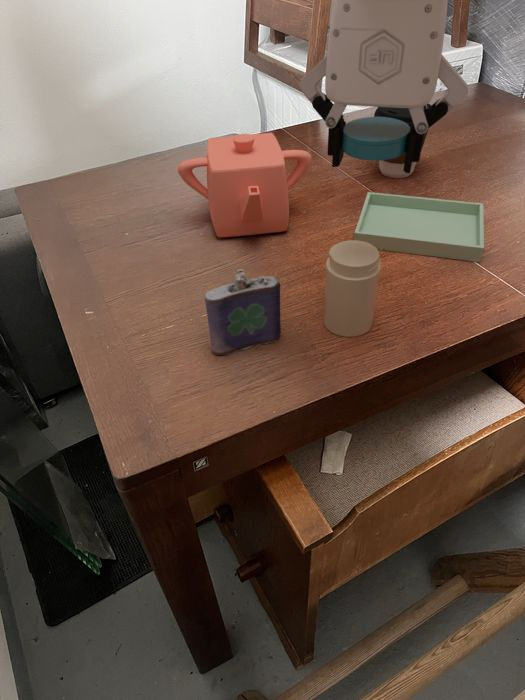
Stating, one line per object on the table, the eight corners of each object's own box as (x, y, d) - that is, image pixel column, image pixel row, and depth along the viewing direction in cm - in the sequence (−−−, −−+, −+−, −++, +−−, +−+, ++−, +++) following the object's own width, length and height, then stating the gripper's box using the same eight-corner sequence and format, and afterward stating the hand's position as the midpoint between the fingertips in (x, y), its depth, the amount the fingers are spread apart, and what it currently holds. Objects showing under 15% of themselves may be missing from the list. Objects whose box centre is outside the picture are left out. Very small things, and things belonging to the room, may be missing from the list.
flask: (214, 358, 63) (204, 289, 56) (209, 343, 65) (198, 275, 58) (283, 340, 65) (283, 271, 58) (276, 326, 67) (274, 258, 60)
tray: (479, 216, 86) (483, 203, 84) (479, 262, 76) (484, 248, 74) (366, 204, 90) (367, 191, 89) (353, 246, 81) (354, 232, 79)
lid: (336, 159, 51) (336, 140, 50) (345, 133, 56) (346, 115, 54) (405, 162, 49) (408, 143, 48) (409, 135, 54) (412, 117, 53)
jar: (372, 307, 69) (382, 239, 62) (372, 339, 65) (383, 270, 57) (324, 303, 70) (328, 236, 63) (321, 335, 66) (324, 266, 58)
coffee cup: (398, 189, 94) (409, 123, 86) (356, 170, 101) (362, 107, 92) (436, 172, 99) (449, 107, 91) (393, 155, 105) (402, 93, 97)
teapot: (185, 202, 94) (173, 125, 84) (302, 191, 95) (303, 114, 85) (186, 261, 79) (172, 176, 70) (324, 248, 81) (329, 162, 71)
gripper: (281, -40, 41) (284, 173, 53) (511, -44, 37) (456, 188, 49) (302, -51, 46) (300, 145, 58) (506, -55, 42) (458, 157, 54)
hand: (372, 163), depth 54 cm, fingers closed on lid, 6 cm apart
